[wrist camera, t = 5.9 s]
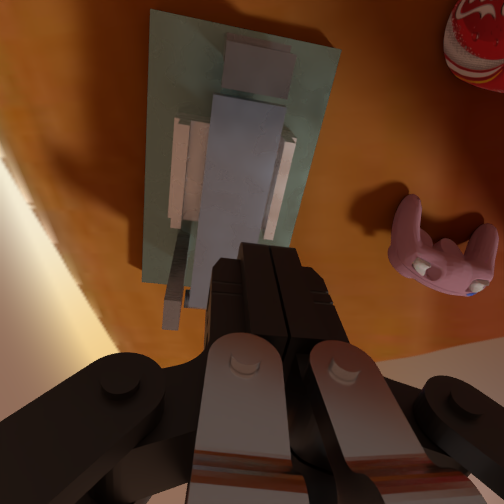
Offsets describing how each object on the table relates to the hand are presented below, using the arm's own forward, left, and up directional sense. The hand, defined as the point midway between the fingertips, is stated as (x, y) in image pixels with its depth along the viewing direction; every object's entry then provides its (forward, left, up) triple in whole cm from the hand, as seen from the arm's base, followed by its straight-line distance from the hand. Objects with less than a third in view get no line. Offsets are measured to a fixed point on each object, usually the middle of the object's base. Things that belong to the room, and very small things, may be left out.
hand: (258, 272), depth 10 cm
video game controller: (-19, +7, -19) cm, 28 cm away
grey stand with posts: (0, +4, -19) cm, 19 cm away
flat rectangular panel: (0, +4, -12) cm, 12 cm away
